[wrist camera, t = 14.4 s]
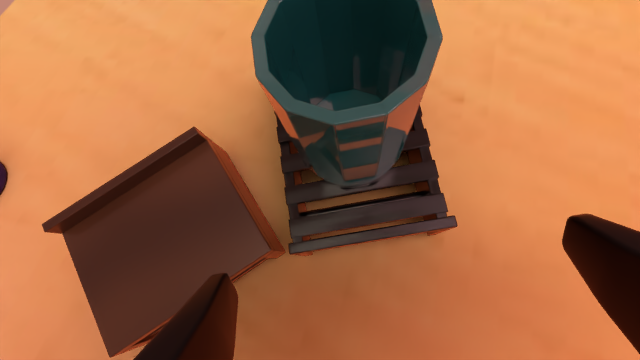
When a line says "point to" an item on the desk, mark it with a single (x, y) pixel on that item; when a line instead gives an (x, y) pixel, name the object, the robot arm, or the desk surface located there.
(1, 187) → the toy lamp
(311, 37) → the cup
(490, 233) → the desk surface
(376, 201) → the rack
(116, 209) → the shelf
